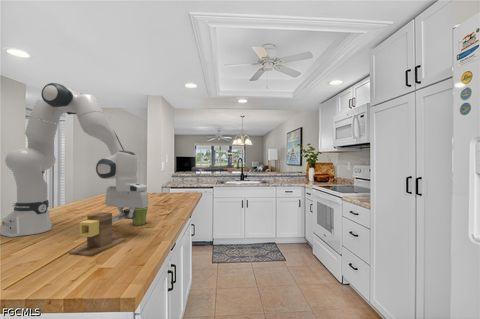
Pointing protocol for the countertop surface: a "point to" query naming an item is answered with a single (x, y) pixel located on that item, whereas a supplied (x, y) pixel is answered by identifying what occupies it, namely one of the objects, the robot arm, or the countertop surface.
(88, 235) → the block
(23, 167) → the robot arm
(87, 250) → the stand
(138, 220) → the plant pot
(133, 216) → the shaft
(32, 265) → the countertop surface
